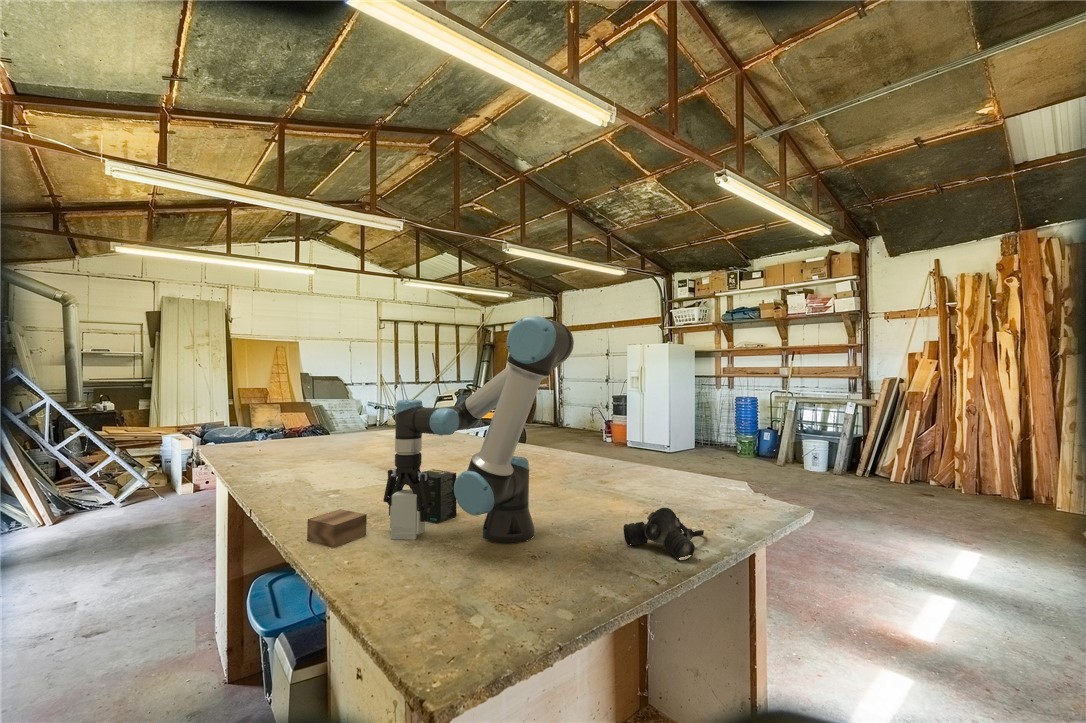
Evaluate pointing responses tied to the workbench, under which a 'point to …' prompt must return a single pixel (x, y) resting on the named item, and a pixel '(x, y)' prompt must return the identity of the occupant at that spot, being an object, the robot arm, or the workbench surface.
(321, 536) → the walnut block
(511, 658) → the workbench surface
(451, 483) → the tampon box
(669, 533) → the respirator mask
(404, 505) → the supplement box
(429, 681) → the workbench surface
